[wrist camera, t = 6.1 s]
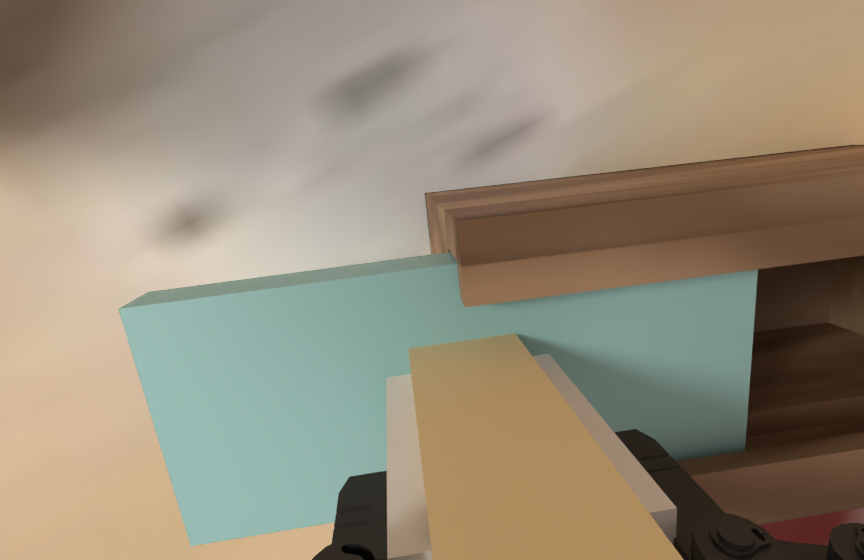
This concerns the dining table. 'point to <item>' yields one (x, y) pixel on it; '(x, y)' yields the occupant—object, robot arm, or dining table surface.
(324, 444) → the cover plate
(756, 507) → the walnut box
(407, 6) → the dining table surface
